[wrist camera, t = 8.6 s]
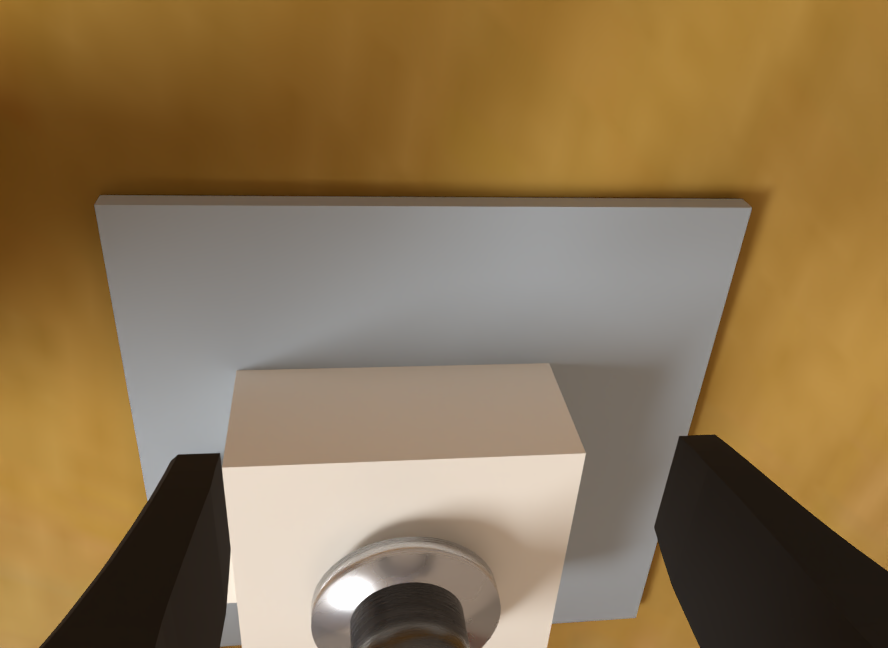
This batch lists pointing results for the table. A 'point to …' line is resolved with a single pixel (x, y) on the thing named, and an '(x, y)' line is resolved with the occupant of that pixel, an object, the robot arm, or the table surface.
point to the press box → (397, 484)
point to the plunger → (406, 597)
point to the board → (436, 326)
